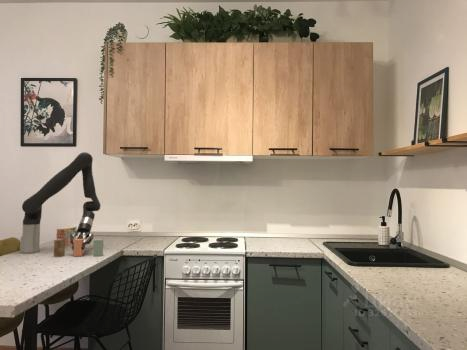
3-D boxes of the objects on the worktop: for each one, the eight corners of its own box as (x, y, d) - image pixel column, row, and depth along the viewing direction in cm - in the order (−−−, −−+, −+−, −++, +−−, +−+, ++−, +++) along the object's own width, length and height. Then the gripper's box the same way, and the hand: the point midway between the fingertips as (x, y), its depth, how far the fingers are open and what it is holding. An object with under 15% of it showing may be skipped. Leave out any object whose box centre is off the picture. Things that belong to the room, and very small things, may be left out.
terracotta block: (73, 256, 187) (73, 239, 187) (76, 254, 191) (76, 238, 191) (81, 256, 187) (81, 239, 187) (83, 254, 191) (84, 238, 192)
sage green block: (93, 256, 188) (93, 240, 188) (95, 254, 192) (95, 239, 193) (100, 256, 188) (101, 240, 189) (102, 254, 193) (103, 238, 193)
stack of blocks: (76, 241, 237) (77, 224, 238) (84, 241, 236) (84, 225, 237) (56, 246, 216) (56, 228, 217) (64, 247, 215) (64, 228, 215)
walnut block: (53, 256, 185) (54, 240, 185) (56, 255, 189) (57, 239, 190) (61, 256, 186) (62, 240, 186) (64, 255, 190) (65, 239, 190)
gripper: (71, 222, 196) (63, 245, 184) (96, 222, 198) (89, 245, 186) (74, 229, 201) (66, 252, 189) (98, 229, 203) (91, 252, 191)
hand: (77, 249), depth 187 cm, fingers closed on terracotta block, 4 cm apart
